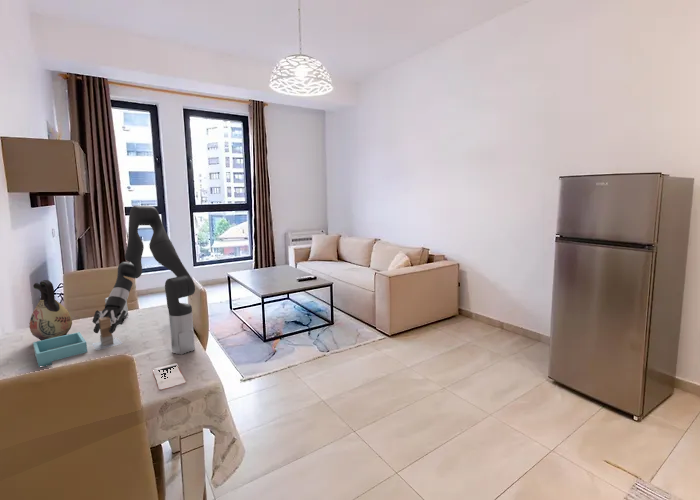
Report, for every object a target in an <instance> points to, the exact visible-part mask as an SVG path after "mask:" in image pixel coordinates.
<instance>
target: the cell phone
mask: <svg viewBox="0 0 700 500" xmlns="http://www.w3.org/2000/svg"><path fill="white" fill-rule="evenodd" d="M176 366H178V367H179V364H178V363H176V362H175V363H172V364H168V365H167V364H166V365H164V366H159V367H156V368H154V369H157V370H158V369H160V370H163V372H164V370H166V371H167V373H168V369H170V370H171V368H173V367H176ZM173 369H174V368H173ZM152 370H153V369H152ZM160 370H158V371H159V372H160ZM153 371H154V370H153ZM153 371H152V372H153ZM170 373H171V371H170ZM163 374H164V377H166V376H165V375H166V373H163ZM163 374H161V375H163ZM162 377H163V376H162ZM162 377H161V378H162ZM167 378H168V377H167ZM164 379H166V378H164Z"/></svg>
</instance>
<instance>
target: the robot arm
mask: <svg viewBox="0 0 700 500" xmlns="http://www.w3.org/2000/svg"><path fill="white" fill-rule="evenodd" d="M128 217H129V218H128V233H127V234H128V235H127V236H128V240H127V245H126V250H125V254H124V255H125V256H124V259H125V261H121V263H120V264H119V265H118V266H117V275H116V276H117V277H116V281H115V284H114V286H113V288H112V289H111V292H110V293H109V295H108V297H107V298H108V300H107V302H106V303H105V305H104V308H103V310H95V312H94V315H93V318H92V323H93V324H95V325H94V328H93V333H95V334H99V333H100V325H99V318H103V317H109V318H110V319H111V320H110V321H112V324H111V327H110V330H109V332H110V333H112V334H114V332H116V329H117V327H118V326H119V325H123V324H124V322H125V320H126V318H127V317H126V316H127V315H128V316H129V312H128V313H127V312H126V311H125V310H124V311H122V310H123V308H124V306H125V303H126V301H127V302H128V298H129V295H130V292H131V289H132V287H133V281H132V280H130V279H128V278H131V279H138V278H140V277H141V276H142V274H143V265H142V257H143V254H144V249H145V248H144V247H145V246H144V242H143V241H142V238H141V235H139V232H138V231H139V226H150V228H151V229H152V237H151V239H150V242H149V249H150V252H151V254H152V256H153V258H154V260H155V261H156V262H158V263H159V264H160V265H161V266H163V267H164V268H166V269H168V270H169V271H171V272H172V273H173V274H174V275H175V277H170V278H167V279H166V281H165V283H164V289H165V290H164V291H165V299H166V305H167V310H168V318H169V319H168V320H169V330H170V331H169V332H170V344H171V352H172V354H174V353H176V354H175V355H180V354H181V355H184V354H183V353H185V354H187V353H186V352H188V353H190V352H189V351H191V352H194V351H195V349H196V348H195V347H196V346H195V332H194V321H193V318H194V317H193V316H194V315H193V305H191V304H189V303H187V302H186V303H183V302H180V301H179V300H180V299H182V298H185V297H190V296H193V295H195V292H196V285H195V282H194V280H193V278H192V276H191V274H190V273H189V272H188V270H187V268H186V267H185V266H184V264H183V262H182V261H181V259H180V257H179V254H178V253H177V251H176V248H175V247H174V244H173V242H172V241H171V239H170V237H169V235H168V233H167V231H166V229H165V226H164V224H163V222H162V219H161V216H160V213H159V211H158V210H157V208H156V207H155V206H152V205H133V206H132V207H131V209H130V210H129V214H128ZM126 277H127V278H126ZM120 314H121V315H120ZM119 315H120V317H119V319H118V316H119ZM193 350H194V351H193Z"/></svg>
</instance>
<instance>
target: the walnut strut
mask: <svg viewBox="0 0 700 500" xmlns="http://www.w3.org/2000/svg"><path fill="white" fill-rule="evenodd" d="M99 325H100V330H99V333H100V335H99V336H100V337H99V338H100V342H101V344H102V346H106V345H110V344H114V343H113V338H114V335H113V333H110V332H109V330H110V327H111V325H112V324H111V320H110V318H109V317H103V318H99Z"/></svg>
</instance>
